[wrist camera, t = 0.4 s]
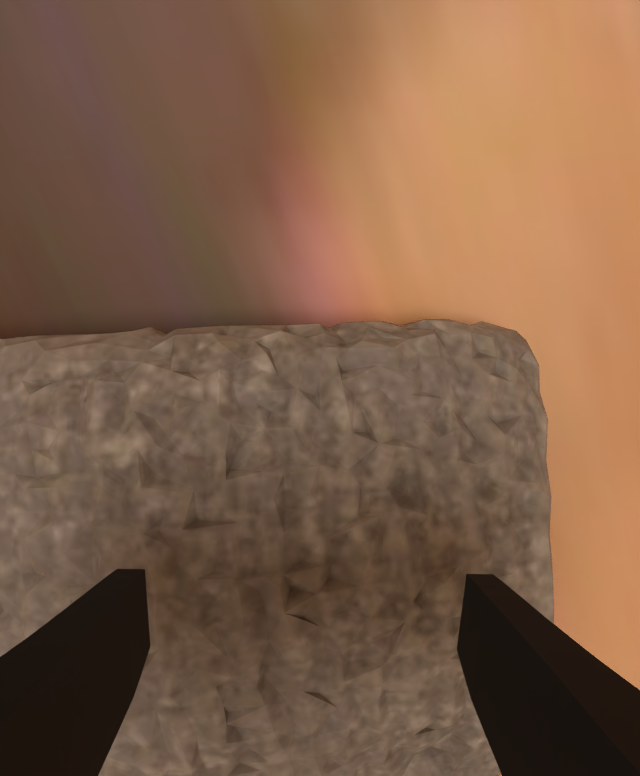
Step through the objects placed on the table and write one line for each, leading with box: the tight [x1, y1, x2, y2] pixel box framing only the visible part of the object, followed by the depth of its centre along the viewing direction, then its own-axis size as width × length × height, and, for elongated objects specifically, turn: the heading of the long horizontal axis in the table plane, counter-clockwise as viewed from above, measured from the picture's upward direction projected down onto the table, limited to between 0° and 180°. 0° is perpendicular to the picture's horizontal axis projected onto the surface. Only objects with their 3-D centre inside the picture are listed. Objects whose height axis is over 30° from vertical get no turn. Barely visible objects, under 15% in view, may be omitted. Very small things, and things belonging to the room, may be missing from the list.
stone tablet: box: [0, 319, 554, 776], centre depth 17 cm, size 20×8×30 cm
